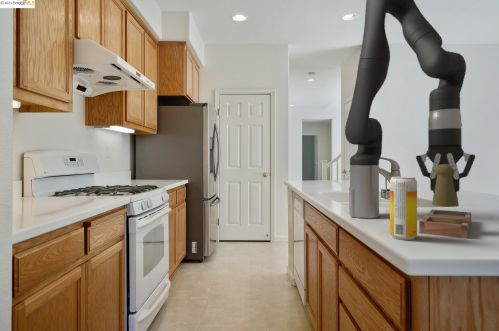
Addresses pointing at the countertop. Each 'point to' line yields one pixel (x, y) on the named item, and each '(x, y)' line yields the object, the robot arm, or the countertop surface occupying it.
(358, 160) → the robot arm
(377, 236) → the countertop surface
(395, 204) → the beer can
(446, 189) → the cork
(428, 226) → the rail
